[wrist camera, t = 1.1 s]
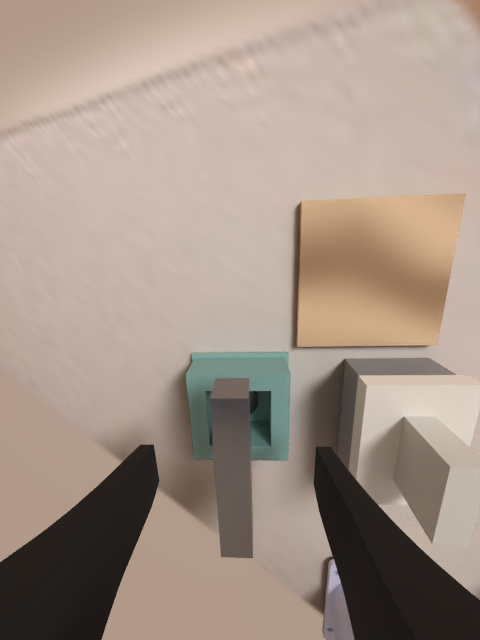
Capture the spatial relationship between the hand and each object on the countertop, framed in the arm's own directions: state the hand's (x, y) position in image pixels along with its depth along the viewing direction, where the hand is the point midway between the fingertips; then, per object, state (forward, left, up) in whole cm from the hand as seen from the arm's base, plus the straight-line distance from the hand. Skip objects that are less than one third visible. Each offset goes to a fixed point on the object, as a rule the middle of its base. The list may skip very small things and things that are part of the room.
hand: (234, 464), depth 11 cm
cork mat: (+7, -8, -6) cm, 12 cm away
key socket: (0, 0, -6) cm, 6 cm away
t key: (0, 0, -5) cm, 5 cm away
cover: (-1, -9, -3) cm, 10 cm away
